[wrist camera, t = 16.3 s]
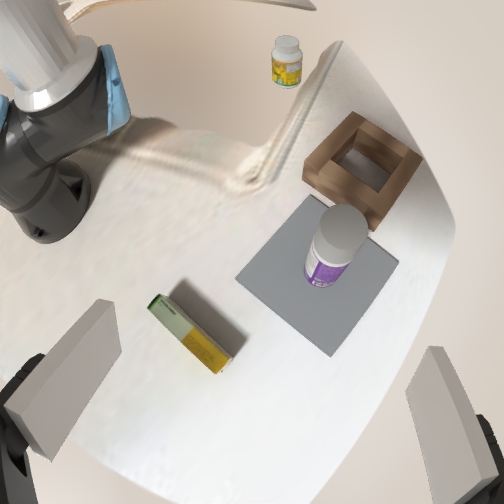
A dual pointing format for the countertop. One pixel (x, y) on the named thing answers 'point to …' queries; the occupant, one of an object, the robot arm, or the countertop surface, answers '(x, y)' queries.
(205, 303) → the countertop surface
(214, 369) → the medication box
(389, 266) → the grey mat
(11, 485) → the robot arm
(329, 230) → the container
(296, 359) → the countertop surface
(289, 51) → the supplement bottle
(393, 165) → the walnut box
